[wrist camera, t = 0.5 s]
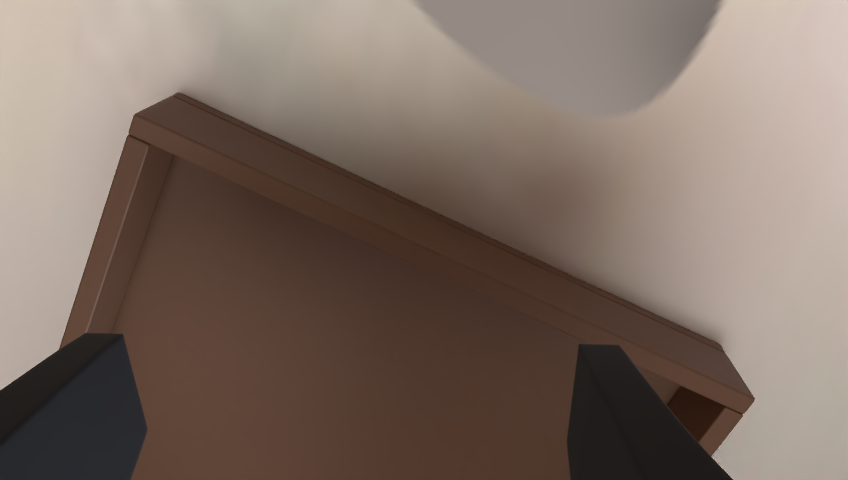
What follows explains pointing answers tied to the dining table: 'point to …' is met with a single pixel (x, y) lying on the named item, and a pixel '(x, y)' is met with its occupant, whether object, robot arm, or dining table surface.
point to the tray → (347, 322)
